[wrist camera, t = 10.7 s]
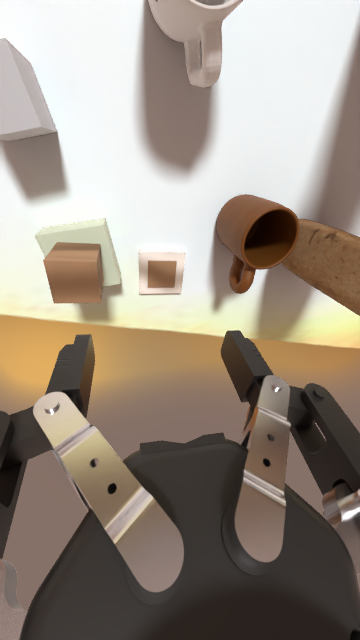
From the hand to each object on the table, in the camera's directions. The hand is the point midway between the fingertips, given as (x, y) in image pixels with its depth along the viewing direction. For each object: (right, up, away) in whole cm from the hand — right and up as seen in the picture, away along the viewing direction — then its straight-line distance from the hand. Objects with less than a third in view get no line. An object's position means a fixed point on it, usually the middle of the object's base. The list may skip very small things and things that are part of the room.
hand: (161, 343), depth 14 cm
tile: (-2, +9, +23) cm, 24 cm away
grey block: (-15, +23, +9) cm, 29 cm away
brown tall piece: (+22, +14, +25) cm, 36 cm away
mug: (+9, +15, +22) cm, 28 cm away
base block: (-12, +11, +19) cm, 25 cm away
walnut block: (-12, +9, +16) cm, 21 cm away
